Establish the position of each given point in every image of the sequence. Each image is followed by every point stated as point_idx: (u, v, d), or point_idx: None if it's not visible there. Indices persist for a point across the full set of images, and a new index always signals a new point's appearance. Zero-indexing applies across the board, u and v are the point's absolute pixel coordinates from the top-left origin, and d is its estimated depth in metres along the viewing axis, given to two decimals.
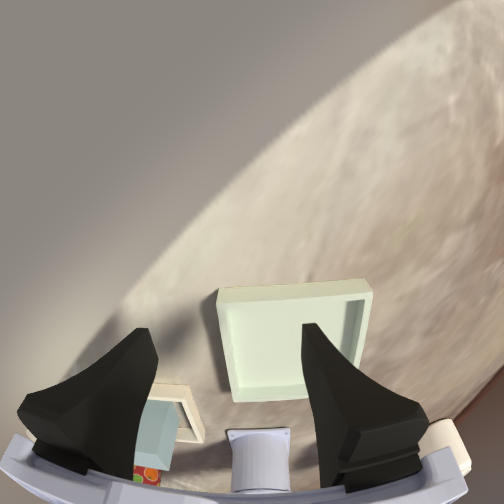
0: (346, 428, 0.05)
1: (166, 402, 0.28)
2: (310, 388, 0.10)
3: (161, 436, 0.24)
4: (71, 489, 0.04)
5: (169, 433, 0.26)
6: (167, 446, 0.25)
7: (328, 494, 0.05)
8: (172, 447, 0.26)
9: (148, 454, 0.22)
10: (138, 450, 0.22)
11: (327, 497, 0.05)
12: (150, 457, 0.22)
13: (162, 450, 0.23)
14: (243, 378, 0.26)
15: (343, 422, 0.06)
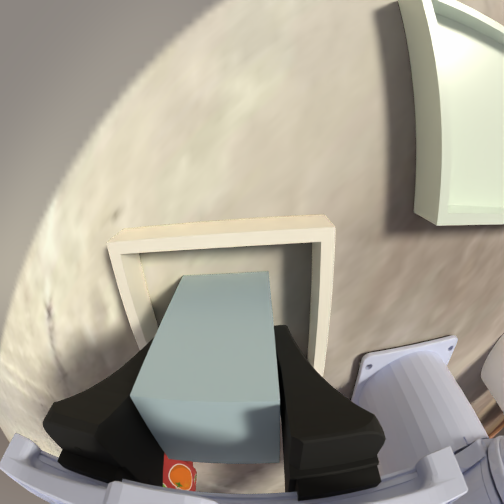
0: (290, 435, 0.05)
1: (260, 277, 0.14)
2: None
3: None
4: (70, 489, 0.04)
5: None
6: None
7: (280, 500, 0.05)
8: None
9: (244, 408, 0.07)
10: (205, 398, 0.07)
11: (278, 502, 0.05)
12: (244, 422, 0.07)
13: None
14: None
15: (289, 429, 0.06)
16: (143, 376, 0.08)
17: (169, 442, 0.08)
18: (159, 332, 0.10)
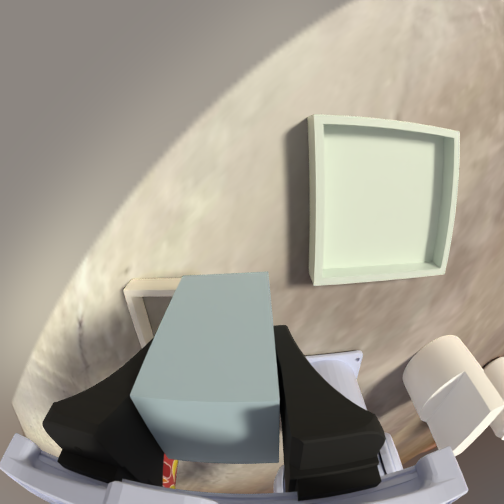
0: (290, 435, 0.05)
1: (259, 277, 0.14)
2: None
3: (274, 344, 0.09)
4: (70, 488, 0.04)
5: None
6: None
7: (280, 500, 0.05)
8: None
9: (244, 408, 0.07)
10: (205, 398, 0.07)
11: (278, 502, 0.05)
12: (244, 422, 0.07)
13: None
14: (325, 251, 0.21)
15: (289, 429, 0.06)
16: (143, 376, 0.08)
17: (169, 441, 0.08)
18: (159, 332, 0.10)
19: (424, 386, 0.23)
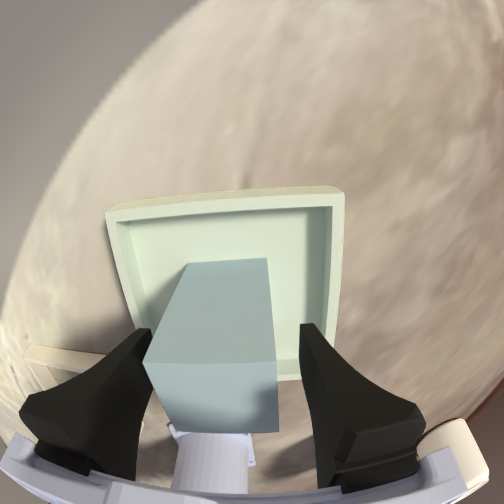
0: (342, 429, 0.05)
1: (259, 262, 0.15)
2: (308, 388, 0.10)
3: (272, 316, 0.11)
4: (70, 489, 0.04)
5: None
6: None
7: (324, 495, 0.05)
8: None
9: (245, 370, 0.08)
10: (210, 361, 0.08)
11: (323, 498, 0.05)
12: (245, 385, 0.09)
13: None
14: None
15: (339, 423, 0.06)
16: (154, 345, 0.09)
17: (177, 411, 0.09)
18: (168, 309, 0.11)
19: None
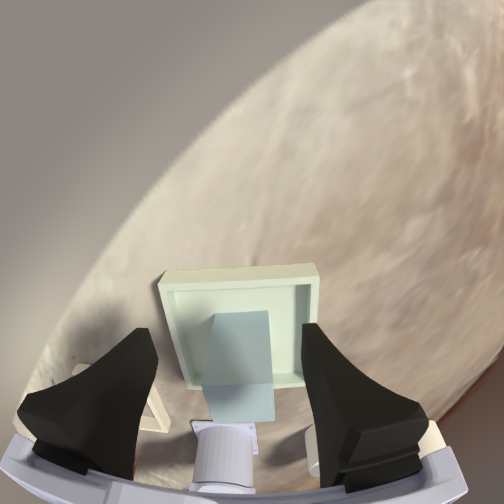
0: (346, 428, 0.05)
1: (263, 314, 0.23)
2: (310, 388, 0.10)
3: None
4: (71, 489, 0.04)
5: None
6: None
7: (328, 494, 0.05)
8: None
9: (256, 387, 0.16)
10: (239, 383, 0.16)
11: (327, 497, 0.05)
12: (256, 394, 0.16)
13: None
14: (197, 365, 0.26)
15: (343, 422, 0.06)
16: (205, 374, 0.17)
17: (216, 410, 0.17)
18: (209, 351, 0.19)
19: (311, 454, 0.28)
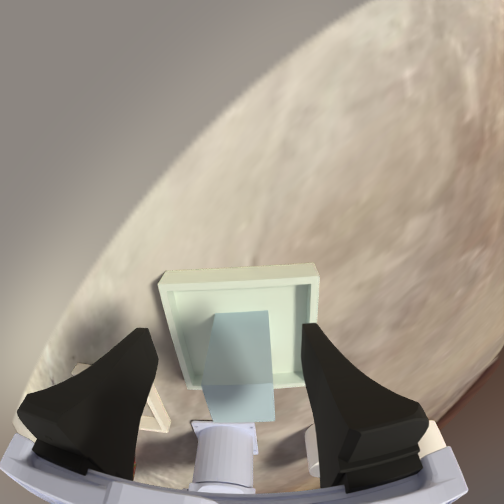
0: (346, 428, 0.05)
1: (263, 314, 0.23)
2: (310, 388, 0.10)
3: None
4: (71, 488, 0.04)
5: None
6: None
7: (328, 494, 0.05)
8: None
9: (256, 387, 0.16)
10: (239, 383, 0.16)
11: (327, 497, 0.05)
12: (256, 394, 0.16)
13: None
14: (197, 365, 0.26)
15: (343, 422, 0.06)
16: (205, 374, 0.17)
17: (216, 410, 0.17)
18: (209, 351, 0.19)
19: (311, 454, 0.28)
